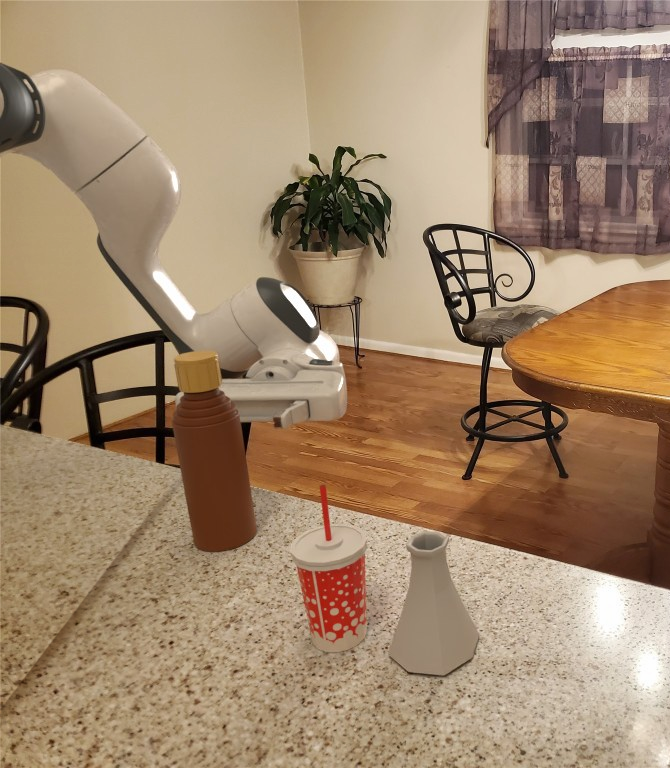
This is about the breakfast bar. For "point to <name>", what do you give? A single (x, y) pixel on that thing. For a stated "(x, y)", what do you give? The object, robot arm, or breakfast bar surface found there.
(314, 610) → the beverage cup
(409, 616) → the flask
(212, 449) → the bottle
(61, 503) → the breakfast bar surface
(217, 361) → the bottle cap
